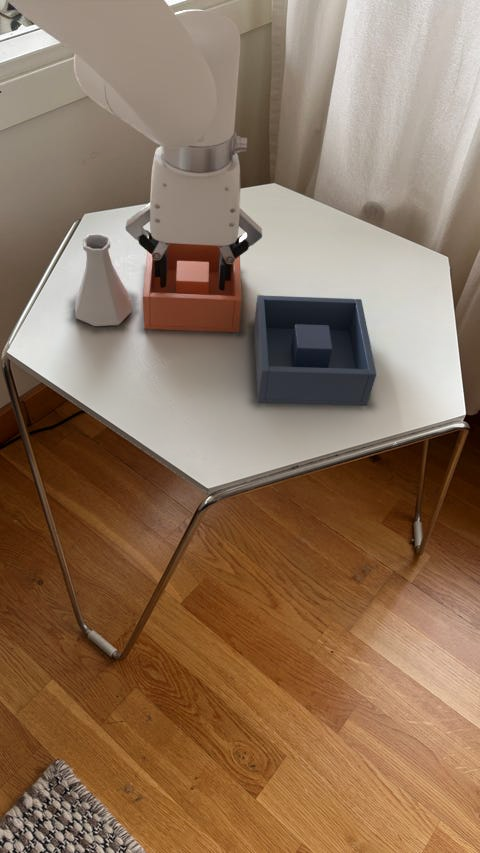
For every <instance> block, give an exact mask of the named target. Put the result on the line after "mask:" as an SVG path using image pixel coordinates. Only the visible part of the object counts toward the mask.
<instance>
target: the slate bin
mask: <svg viewBox="0 0 480 853" xmlns="http://www.w3.org/2000/svg"><path fill="white" fill-rule="evenodd" d="M295 324H302V325H328V326H329V330H330V336H331V343H332V353H331V358H330V362H329V366H328V368H306V367H293V365H292V355H291V345H292V340H293V334H294V328H295ZM253 332H254V333H253V337H254V357H255V376H256V377H255V378H256V390H257V391H256V394H257V403H270V404H271V403H273V404H275V403H276V404H277V403H278V404H310V405H311V404H312V405H343V406H344V405H346V406H347V405H348V406H368V404H369V400H370V398H371V395H372V391H373V387H374V384H375V380H376V377H377V369H376V365H375V360H374V356H373V349H372V345H371V340H370V335H369V330H368V326H367V320H366V315H365V311H364V306H363V301H362V299H361V298H344V297H343V298H342V297H341V298H340V297H338V298H337V297H317V296H316V297H314V296H288V295H287V296H285V295H260V294H257V296H256V304H255V313H254V322H253Z"/></svg>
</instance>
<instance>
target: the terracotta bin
mask: <svg viewBox="0 0 480 853" xmlns="http://www.w3.org/2000/svg"><path fill="white" fill-rule="evenodd" d="M177 261H195V262H209V294H208V295H192V294H176V273H177ZM219 263H220V249H219V247H218V246H215V245H195V244H177V243H170V244H169V246H168V248H167V283H166V287H165V288H161V287H160V277H155V260H154V259H153V258H152V255H151V254H150V253H149V252H148V251H147V250H146V260H145V268H144V269H145V271H144V278H143V280H144V281H143V290H142V306H143V307H142V309H143V329H144V330H162V331H164V330H165V331H190V332H191V331H192V332H194V331H195V332H223V333H225V332H226V333H239V332H240V324H241V310H242V301H243V300H242V299H243V298H242V278H241V277H242V276H241V273H242V272H241V255H240V256H239V257H237V258H236V259H235V262H234V263H233V264H232V269H231V280H230V281H225V289H224V291H222V290H220V289H219Z"/></svg>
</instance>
